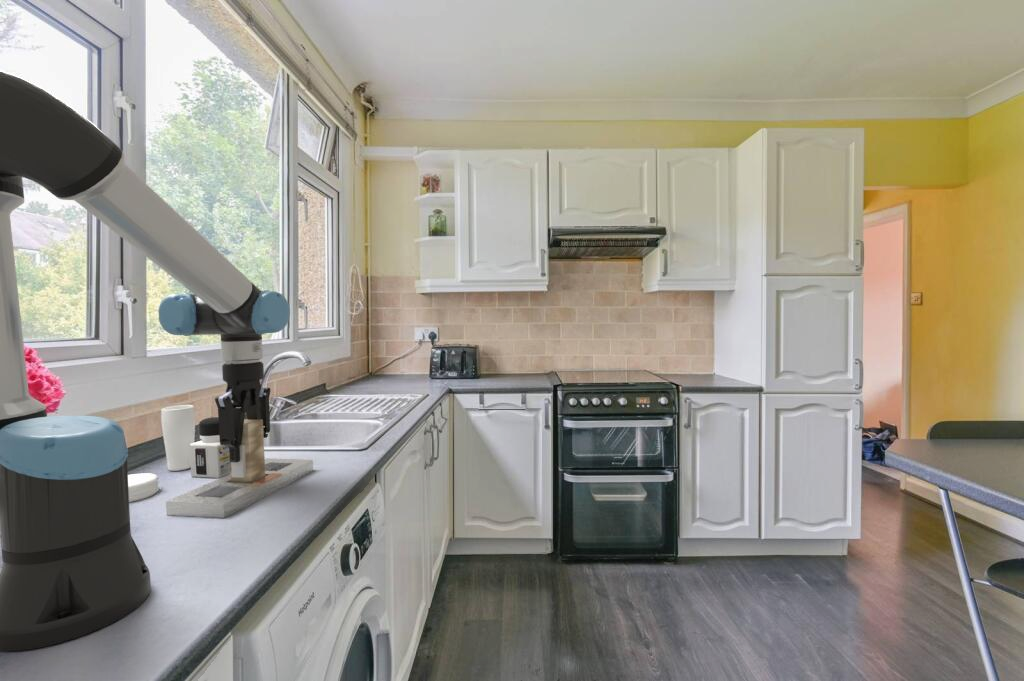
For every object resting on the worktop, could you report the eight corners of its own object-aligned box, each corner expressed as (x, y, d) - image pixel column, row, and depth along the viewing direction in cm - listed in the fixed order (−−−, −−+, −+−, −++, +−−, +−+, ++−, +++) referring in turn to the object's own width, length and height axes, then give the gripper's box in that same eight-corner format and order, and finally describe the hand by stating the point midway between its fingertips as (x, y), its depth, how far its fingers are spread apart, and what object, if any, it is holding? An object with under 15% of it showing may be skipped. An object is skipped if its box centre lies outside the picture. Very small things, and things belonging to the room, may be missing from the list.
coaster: (90, 499, 100) (89, 482, 100) (148, 485, 109) (147, 469, 108) (106, 509, 95) (105, 491, 94) (166, 494, 103) (165, 477, 103)
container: (219, 478, 112) (216, 421, 111) (190, 477, 113) (187, 420, 112) (244, 468, 119) (241, 414, 118) (216, 467, 121) (214, 414, 120)
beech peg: (250, 482, 101) (247, 424, 100) (231, 481, 101) (228, 423, 101) (265, 475, 105) (262, 419, 105) (246, 474, 106) (243, 419, 105)
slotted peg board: (224, 518, 89) (223, 503, 88) (166, 514, 91) (165, 500, 91) (313, 470, 116) (312, 459, 116) (267, 468, 118) (267, 457, 118)
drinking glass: (164, 467, 121) (161, 406, 120) (197, 462, 125) (194, 403, 124) (163, 474, 115) (160, 410, 115) (197, 469, 119) (194, 407, 119)
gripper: (227, 365, 93) (233, 487, 94) (285, 358, 110) (290, 461, 111) (192, 365, 94) (198, 486, 95) (255, 358, 112) (260, 460, 113)
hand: (248, 472), depth 103 cm, fingers closed on beech peg, 4 cm apart
